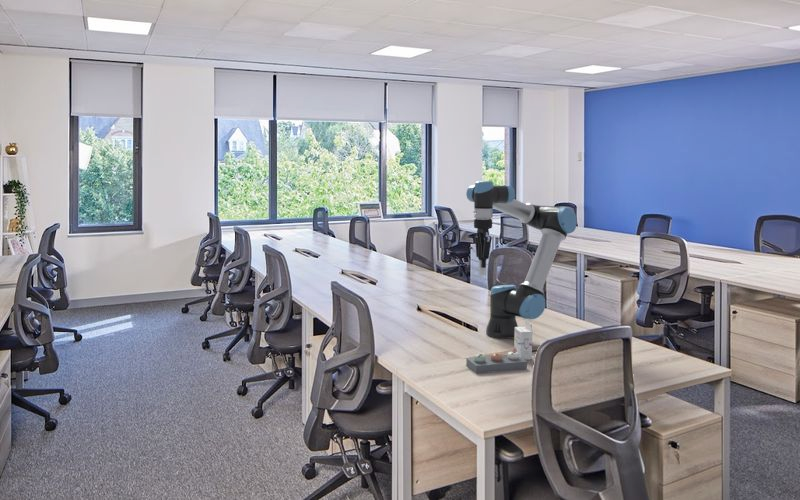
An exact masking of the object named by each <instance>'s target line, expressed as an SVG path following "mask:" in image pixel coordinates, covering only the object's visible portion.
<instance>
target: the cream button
mask: <svg viewBox="0 0 800 500" xmlns="http://www.w3.org/2000/svg"><path fill="white" fill-rule="evenodd" d="M507 355H508V359H510V360H518V359H519V353H518V352H514V351H508V352H507Z"/></svg>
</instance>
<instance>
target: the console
mask: <svg viewBox="0 0 800 500" xmlns="http://www.w3.org/2000/svg"><path fill="white" fill-rule="evenodd" d="M465 359H466V365H465V366H466V367H467V368H469V369H470V371H472V372H474V373H475V374H487V373H496V372H508V371H517V370H518V371H519V370H527V369H528V361H527V360H524V359H523V358H521V357H520V356H519V359H518V360H510V359H508V354H502V361H492V360H491V355H490V356H486V361H485V362H483V363H477V362H474V357H466V358H465Z"/></svg>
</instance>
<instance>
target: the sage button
mask: <svg viewBox="0 0 800 500" xmlns="http://www.w3.org/2000/svg"><path fill="white" fill-rule="evenodd" d="M486 357H487V356H486V355H484V354H481V353H479V354H477V353H476V354H474V356H473V358H474V362H477V363H483V362H485V361H486Z"/></svg>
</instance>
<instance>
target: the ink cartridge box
mask: <svg viewBox="0 0 800 500" xmlns="http://www.w3.org/2000/svg"><path fill="white" fill-rule="evenodd" d="M513 339H514V341H513V342H514V343H513V345H514V346H513V352H518V353H519V356H520V357H521V358H523V359H524V360H526V361H527V360H529V361H530V360H533V359H532V358H533V355H532V354H533V324H532V323H531V322H530V321H528V320H527V319H524V326H518V327H515V337H514V338H513Z"/></svg>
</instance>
